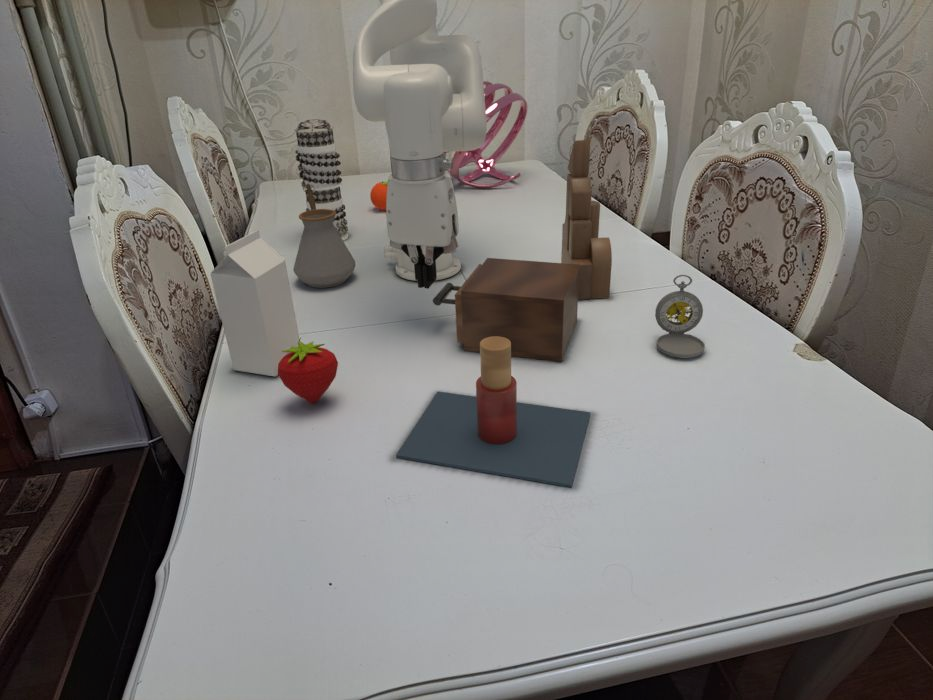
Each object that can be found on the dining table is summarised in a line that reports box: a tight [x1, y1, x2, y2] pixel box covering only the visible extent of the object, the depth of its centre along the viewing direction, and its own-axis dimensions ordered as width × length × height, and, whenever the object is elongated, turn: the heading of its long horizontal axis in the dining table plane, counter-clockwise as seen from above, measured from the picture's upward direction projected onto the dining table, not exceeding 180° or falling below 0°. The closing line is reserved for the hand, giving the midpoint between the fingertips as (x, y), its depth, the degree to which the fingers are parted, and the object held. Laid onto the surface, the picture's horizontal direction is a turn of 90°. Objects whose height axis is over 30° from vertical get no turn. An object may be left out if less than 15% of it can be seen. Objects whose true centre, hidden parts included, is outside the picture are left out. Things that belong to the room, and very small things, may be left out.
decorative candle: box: [294, 118, 349, 241], centre depth 139 cm, size 9×9×25 cm
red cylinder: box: [475, 336, 518, 444], centre depth 73 cm, size 5×5×12 cm
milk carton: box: [210, 229, 301, 378], centre depth 90 cm, size 7×7×19 cm
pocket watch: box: [654, 274, 706, 359], centre depth 92 cm, size 8×8×10 cm
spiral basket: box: [443, 80, 528, 189], centre depth 177 cm, size 28×28×27 cm
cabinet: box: [461, 257, 580, 363], centre depth 97 cm, size 15×14×10 cm
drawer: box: [432, 263, 483, 344], centre depth 98 cm, size 18×12×8 cm
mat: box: [395, 391, 591, 488], centre depth 76 cm, size 20×14×1 cm
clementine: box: [369, 181, 388, 211], centre depth 161 cm, size 8×7×7 cm
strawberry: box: [277, 337, 339, 404], centre depth 82 cm, size 6×8×10 cm
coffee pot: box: [292, 184, 356, 289], centre depth 123 cm, size 21×12×15 cm, turn 17°
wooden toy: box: [560, 139, 613, 301], centre depth 110 cm, size 16×7×25 cm, turn 1°
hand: (426, 284), depth 101 cm, fingers closed
